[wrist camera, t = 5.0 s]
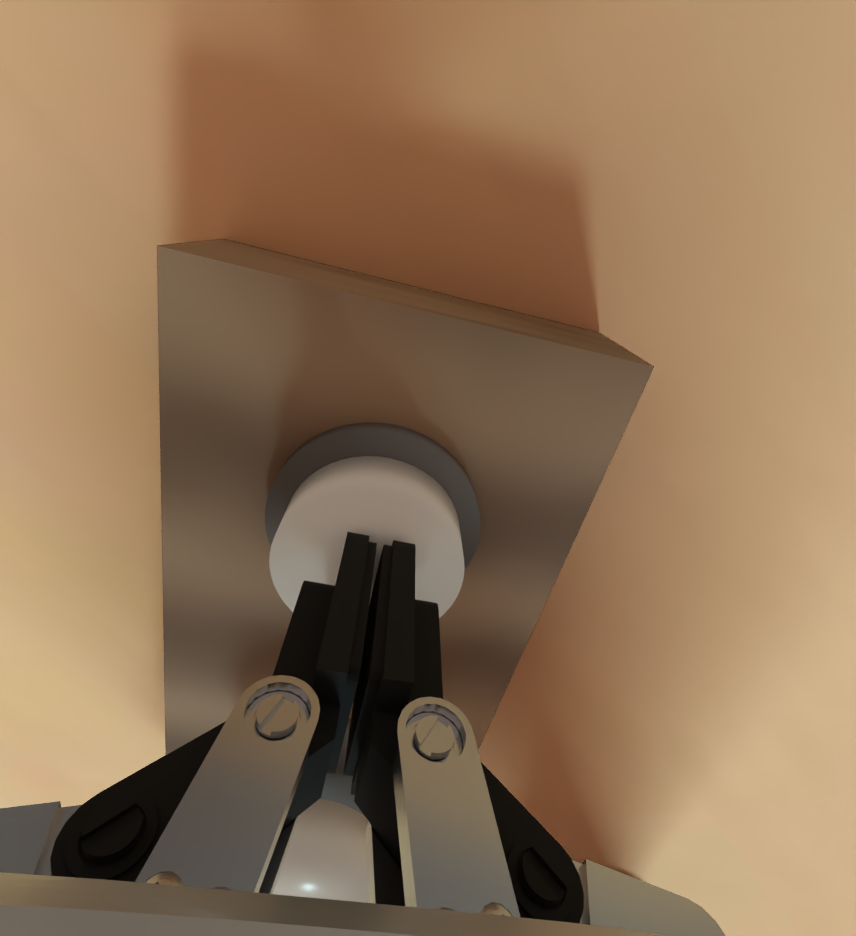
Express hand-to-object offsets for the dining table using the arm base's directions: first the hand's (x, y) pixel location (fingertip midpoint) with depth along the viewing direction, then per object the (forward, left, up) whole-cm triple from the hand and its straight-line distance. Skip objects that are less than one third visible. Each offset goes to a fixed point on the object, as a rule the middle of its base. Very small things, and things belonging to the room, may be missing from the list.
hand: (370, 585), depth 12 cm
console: (-6, 0, -7) cm, 9 cm away
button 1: (0, 0, -2) cm, 2 cm away
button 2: (-12, 0, 0) cm, 12 cm away
